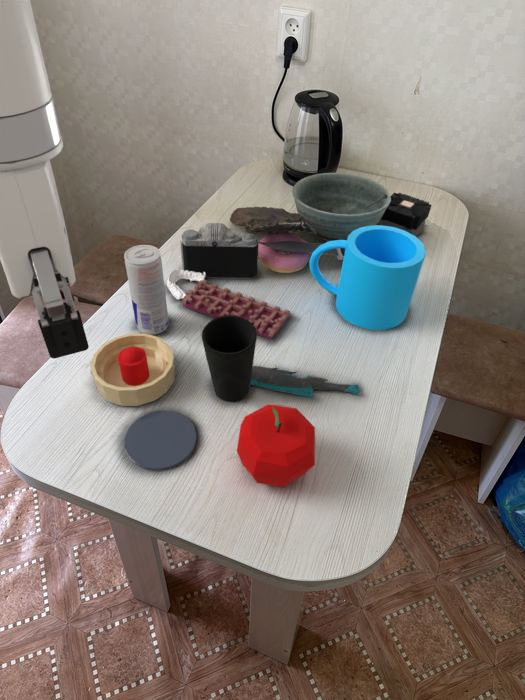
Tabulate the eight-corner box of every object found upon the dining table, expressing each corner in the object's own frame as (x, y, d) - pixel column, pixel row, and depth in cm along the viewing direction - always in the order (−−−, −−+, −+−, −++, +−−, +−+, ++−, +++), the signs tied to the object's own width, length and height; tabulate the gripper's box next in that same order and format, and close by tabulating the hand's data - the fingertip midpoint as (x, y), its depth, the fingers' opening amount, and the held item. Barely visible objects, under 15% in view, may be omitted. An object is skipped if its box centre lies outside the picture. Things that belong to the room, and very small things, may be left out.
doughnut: (316, 272, 103) (320, 256, 100) (267, 281, 100) (269, 264, 97) (295, 240, 110) (298, 224, 106) (248, 247, 106) (250, 230, 103)
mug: (412, 296, 98) (431, 236, 89) (398, 338, 89) (418, 276, 80) (316, 270, 103) (325, 210, 94) (294, 308, 94) (301, 246, 85)
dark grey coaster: (135, 481, 66) (135, 479, 66) (116, 425, 73) (116, 423, 72) (206, 455, 70) (206, 453, 69) (183, 404, 76) (182, 401, 76)
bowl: (334, 269, 103) (342, 226, 96) (270, 226, 115) (272, 184, 108) (400, 238, 113) (411, 197, 106) (335, 201, 124) (341, 161, 117)
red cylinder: (126, 388, 77) (120, 363, 73) (119, 370, 80) (113, 345, 76) (152, 381, 79) (148, 355, 75) (145, 363, 81) (140, 337, 77)
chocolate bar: (201, 284, 98) (200, 276, 96) (289, 316, 92) (290, 308, 90) (180, 304, 93) (179, 296, 92) (271, 340, 87) (272, 331, 86)
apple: (323, 490, 67) (333, 445, 60) (244, 505, 65) (245, 460, 58) (300, 426, 74) (307, 380, 67) (229, 438, 72) (229, 392, 65)
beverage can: (175, 321, 90) (167, 249, 79) (157, 340, 86) (147, 267, 76) (148, 312, 91) (137, 240, 81) (130, 330, 88) (116, 257, 77)
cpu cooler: (371, 228, 116) (412, 243, 112) (376, 205, 112) (419, 220, 108) (389, 210, 122) (429, 224, 119) (395, 188, 118) (436, 202, 115)
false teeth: (182, 266, 100) (182, 258, 98) (208, 281, 99) (208, 273, 97) (156, 291, 96) (155, 282, 94) (182, 306, 95) (182, 298, 93)
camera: (256, 260, 104) (258, 216, 97) (257, 279, 100) (259, 235, 93) (184, 258, 104) (181, 214, 97) (182, 278, 99) (178, 233, 92)
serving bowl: (106, 418, 74) (101, 400, 71) (88, 363, 81) (83, 345, 79) (185, 393, 78) (184, 375, 75) (161, 343, 86) (159, 325, 83)
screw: (383, 196, 105) (385, 192, 105) (387, 199, 105) (389, 195, 104) (361, 208, 101) (363, 205, 100) (365, 212, 101) (367, 208, 100)
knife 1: (389, 266, 106) (381, 249, 109) (393, 260, 105) (385, 243, 108) (258, 256, 95) (253, 237, 98) (261, 249, 94) (256, 230, 97)
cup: (255, 408, 76) (255, 355, 67) (204, 406, 76) (198, 353, 67) (257, 369, 81) (257, 315, 72) (209, 368, 81) (204, 314, 72)
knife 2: (358, 409, 77) (361, 385, 80) (359, 404, 76) (362, 381, 80) (205, 377, 80) (214, 356, 84) (204, 373, 80) (214, 352, 83)
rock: (291, 223, 117) (227, 223, 115) (292, 206, 116) (227, 206, 113) (322, 235, 94) (242, 235, 91) (323, 214, 93) (243, 214, 90)
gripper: (-63, 94, 39) (6, 276, 51) (-57, 192, 28) (29, 396, 40) (40, 84, 41) (82, 260, 53) (82, 171, 30) (124, 369, 42)
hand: (60, 318), depth 46 cm, fingers open, 9 cm apart
